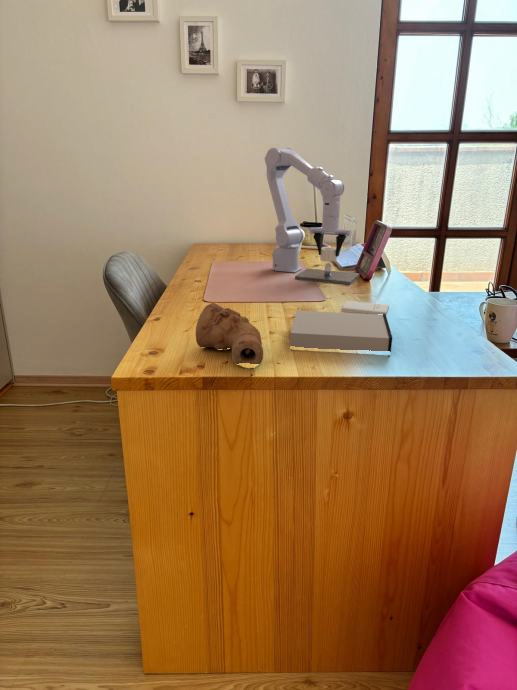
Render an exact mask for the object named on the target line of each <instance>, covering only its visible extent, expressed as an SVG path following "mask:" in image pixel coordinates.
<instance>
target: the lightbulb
mask: <svg viewBox="0 0 517 690" xmlns="http://www.w3.org/2000/svg"><path fill="white" fill-rule="evenodd" d="M300 229H301V230H302V232H303V240H302V242H301V243H300V246H299V253H301V249H302V243H303V242H304V240H305V237H306V233H305V231H304V229H302V228H300Z"/></svg>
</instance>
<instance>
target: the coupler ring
mask: <svg viewBox="0 0 517 690" xmlns="http://www.w3.org/2000/svg"><path fill="white" fill-rule="evenodd" d="M319 259H320V261H321V262H322V261H323V262H336V261H337V259H338V257H337V256H336V247H334V246H333V247H331V246H329V247H328V246H325V247H324V246H323V247H322V248H321V255H320V258H319Z"/></svg>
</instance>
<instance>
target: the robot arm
mask: <svg viewBox="0 0 517 690" xmlns="http://www.w3.org/2000/svg"><path fill="white" fill-rule="evenodd" d="M264 162H265V165H266V178H267V179H266V180H267V183H268V188H269V190H270V194H271V197H272V203H273V206H274V210H275V213H276V217H277V221H278V224H277V226H275V241H276V243H277V245H276V246H275V247H274V248H273V252H272V268H271V270H272V271H274V270H275V271H276V272H287V273H296V272H299V271H300V270H302V267H301V266H299V261H300V260H299V258H300V257H299V254H300V252H299V246H300V243H301V242H302V240H303V232H302V230H303V229H302V228H301V227H300V225H299V222H297V221H296V220H295V219H294V218H293V214H292V210H291V206H290V202H289V198H288V195H287V191H286V187H285V183H284V179H283V177H284V175H285V173H286V172H288V170H289V169H290V168H291V167H293V168H294V169H296V170H297V171H299V172H300V173H302V174H303V175H305V176H306V177H307V182H308V183H310V184H311V185H312V186H313V187H315V188H316V189H317V190H319V191H320V194H321V196H322V203H323V204H322V223H321V227H309V229H308V231H309V232H308V233H309V234H310V235H313V239H314V242H315V244H316V249H317V253H318V255H319V256H321V248H323V243H324V236H325V235H329V236H336V237H335V242H336V243H335V244H336V247H335V248H336V256H337V258H338V257H339V256H340V252H341V250H342V247H343V244H344V242H345V240H346V238H347V237H350V236H351V235H352V230H351V229H345V228H339V224H340V208H341V207H340V206H341V196H342V195H343V194H344V192H345V185H344V182H343V181H342V180H341V179H339V178H335V179H334V175H332V174H328V173H327V172H325V171H324V168H323V167H322V166H315V167H313V166H312V165H310V163H308V162H307V161H306V160H305V159H304V158H302V157H301V156H300V155H299V154H298V153H297V151H295V150H293V149H292V148H290V147H286V148H285V147H284V148H283V147H281V148H280V147H279V148H277V147H270V148H269V149H268V150H267V152H266V154H265V156H264ZM301 229H302V230H301ZM303 241H304V240H303ZM302 243H303V242H302Z"/></svg>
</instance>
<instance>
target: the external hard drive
mask: <svg viewBox="0 0 517 690" xmlns="http://www.w3.org/2000/svg"><path fill="white" fill-rule="evenodd" d="M389 308H390V304H384V303H383V304H382V303H372V302H363V301H353V300H346V301H345V303H344V304H343V306H342V307H341V311H342V312H345V313H357V314H366V313H368V314H388V311H389Z"/></svg>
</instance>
